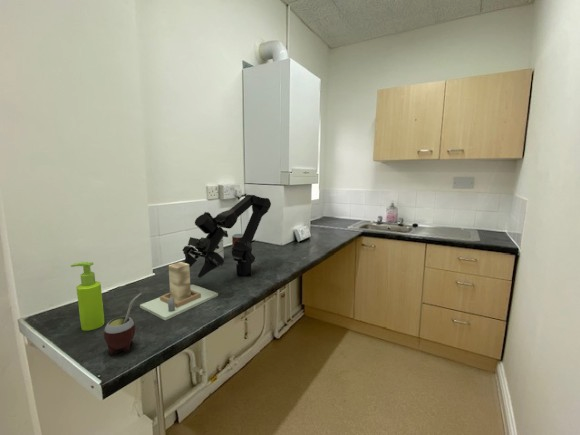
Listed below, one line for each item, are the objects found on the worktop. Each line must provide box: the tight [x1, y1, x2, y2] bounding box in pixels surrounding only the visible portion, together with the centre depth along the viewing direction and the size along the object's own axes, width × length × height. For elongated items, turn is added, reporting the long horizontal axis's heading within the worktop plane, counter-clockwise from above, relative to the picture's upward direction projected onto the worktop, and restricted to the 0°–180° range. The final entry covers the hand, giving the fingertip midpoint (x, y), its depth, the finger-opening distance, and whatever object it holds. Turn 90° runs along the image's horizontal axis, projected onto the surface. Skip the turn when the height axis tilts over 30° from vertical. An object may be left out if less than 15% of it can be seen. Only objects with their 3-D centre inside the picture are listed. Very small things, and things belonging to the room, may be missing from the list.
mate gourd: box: [103, 292, 142, 357], centre depth 73 cm, size 8×8×15 cm
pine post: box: [168, 261, 191, 302], centre depth 100 cm, size 5×5×13 cm
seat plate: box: [139, 284, 219, 321], centre depth 101 cm, size 22×15×5 cm
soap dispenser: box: [70, 261, 105, 332], centre depth 83 cm, size 6×7×20 cm
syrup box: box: [214, 237, 225, 259], centre depth 148 cm, size 6×6×14 cm
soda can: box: [231, 233, 244, 249], centre depth 157 cm, size 7×7×12 cm
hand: (190, 274), depth 104 cm, fingers open, 9 cm apart
